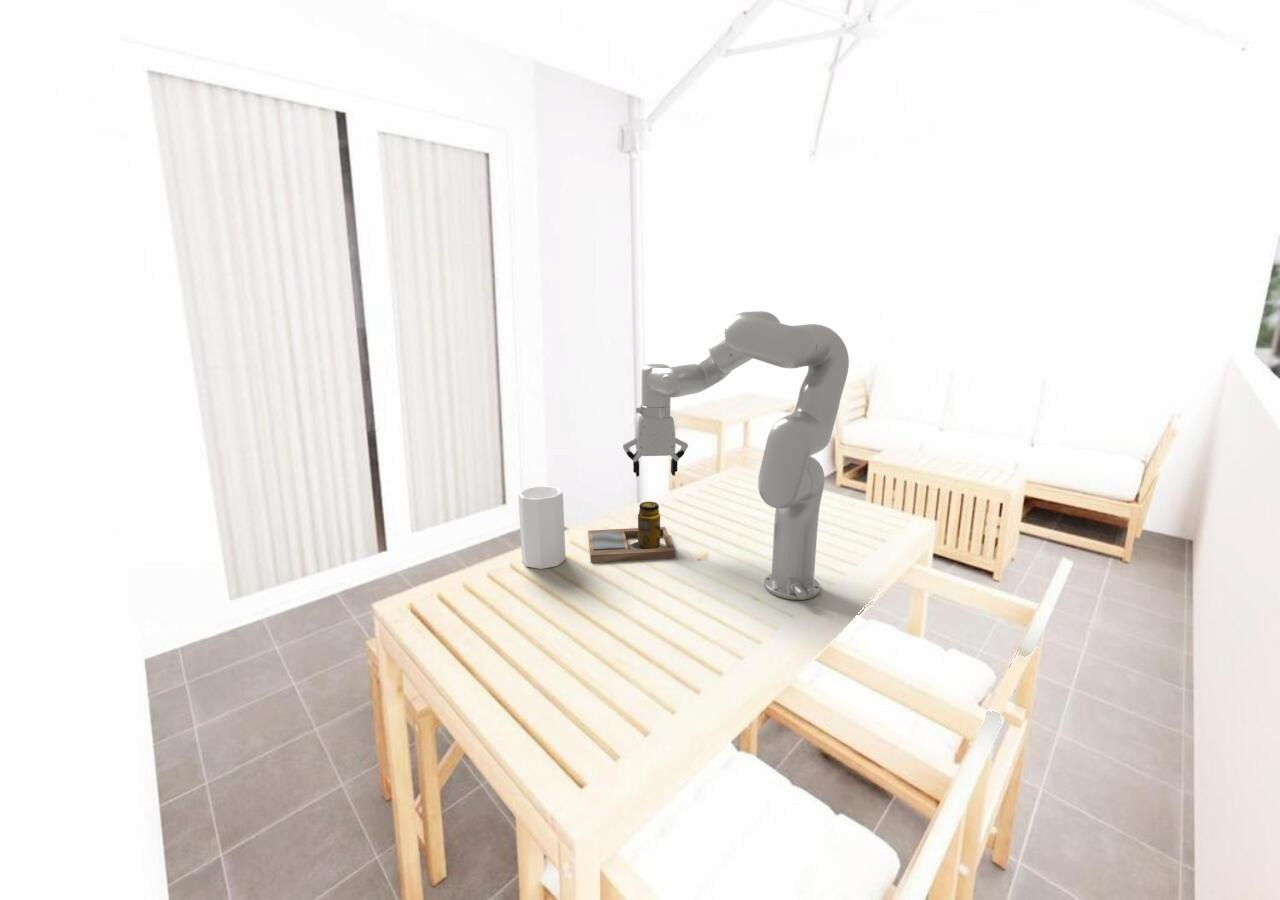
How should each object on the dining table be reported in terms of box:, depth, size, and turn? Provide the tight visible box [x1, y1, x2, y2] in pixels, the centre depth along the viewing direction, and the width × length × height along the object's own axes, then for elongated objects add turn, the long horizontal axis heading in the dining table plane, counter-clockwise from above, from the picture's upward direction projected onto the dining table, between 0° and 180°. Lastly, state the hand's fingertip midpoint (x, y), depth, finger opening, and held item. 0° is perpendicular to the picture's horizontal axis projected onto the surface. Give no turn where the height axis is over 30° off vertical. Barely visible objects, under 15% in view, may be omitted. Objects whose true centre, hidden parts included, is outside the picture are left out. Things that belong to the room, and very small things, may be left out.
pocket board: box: [587, 526, 676, 563], centre depth 163 cm, size 17×22×2 cm
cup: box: [517, 485, 566, 570], centre depth 153 cm, size 11×11×18 cm
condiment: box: [627, 501, 667, 550], centre depth 162 cm, size 7×8×12 cm
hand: (655, 474), depth 161 cm, fingers open, 9 cm apart
